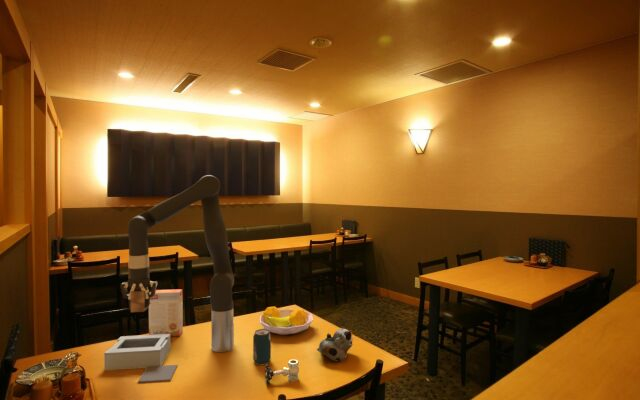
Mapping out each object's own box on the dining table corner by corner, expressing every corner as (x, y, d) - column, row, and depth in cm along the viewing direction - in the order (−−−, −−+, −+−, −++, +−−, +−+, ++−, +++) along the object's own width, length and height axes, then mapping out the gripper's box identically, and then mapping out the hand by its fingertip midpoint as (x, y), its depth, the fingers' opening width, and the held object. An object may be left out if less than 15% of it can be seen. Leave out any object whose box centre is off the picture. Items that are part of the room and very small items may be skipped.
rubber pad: (177, 366, 142) (177, 364, 142) (170, 380, 131) (170, 379, 131) (147, 368, 140) (147, 366, 140) (137, 383, 129) (137, 381, 129)
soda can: (273, 359, 148) (273, 329, 148) (265, 366, 142) (265, 336, 142) (258, 356, 151) (258, 327, 150) (249, 363, 144) (250, 333, 144)
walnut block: (148, 307, 150) (147, 288, 150) (144, 311, 145) (143, 291, 145) (135, 308, 149) (134, 288, 149) (130, 312, 144) (130, 292, 144)
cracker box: (183, 331, 177) (183, 288, 176) (179, 336, 171) (179, 292, 170) (153, 332, 175) (152, 289, 175) (148, 337, 169) (148, 292, 169)
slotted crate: (170, 349, 157) (170, 333, 157) (160, 366, 141) (160, 349, 141) (120, 351, 154) (120, 336, 154) (104, 370, 138) (104, 353, 138)
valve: (296, 374, 136) (264, 378, 133) (296, 357, 136) (264, 361, 133) (300, 383, 130) (267, 388, 127) (301, 365, 130) (267, 369, 127)
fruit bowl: (290, 316, 199) (290, 295, 199) (324, 330, 179) (324, 307, 179) (245, 329, 180) (245, 306, 180) (277, 346, 160) (277, 321, 160)
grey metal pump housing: (321, 347, 160) (336, 318, 161) (345, 362, 155) (360, 332, 157) (312, 351, 146) (328, 319, 147) (338, 368, 142) (354, 335, 143)
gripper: (160, 263, 151) (160, 304, 152) (123, 264, 149) (123, 305, 150) (155, 267, 144) (155, 309, 144) (116, 268, 142) (116, 311, 142)
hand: (139, 307), depth 147 cm, fingers closed on walnut block, 5 cm apart
